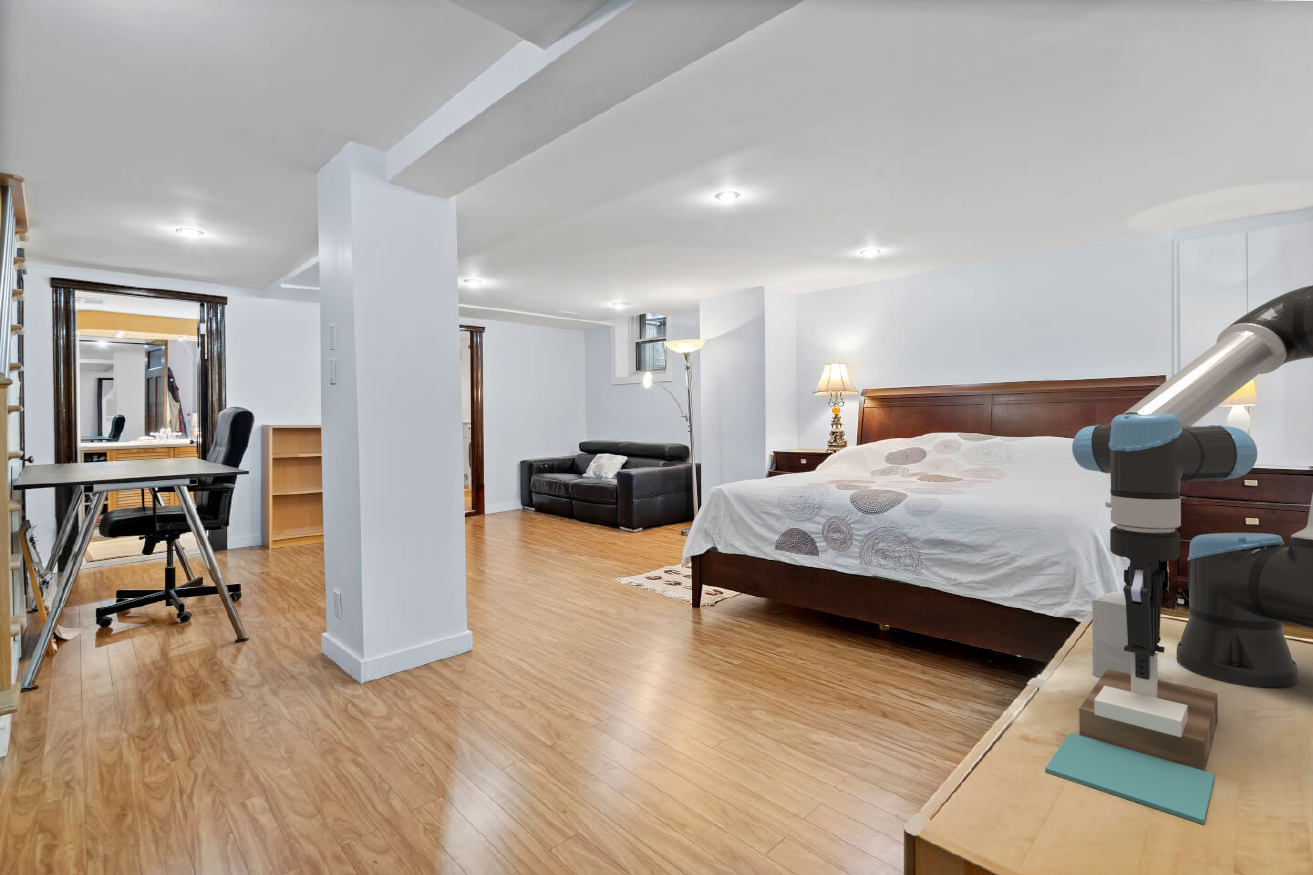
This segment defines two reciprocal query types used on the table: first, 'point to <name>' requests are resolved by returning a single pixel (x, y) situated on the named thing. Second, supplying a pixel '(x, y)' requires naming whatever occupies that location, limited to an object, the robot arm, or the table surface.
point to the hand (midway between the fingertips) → (1144, 699)
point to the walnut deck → (1158, 744)
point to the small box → (1110, 634)
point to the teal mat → (1134, 776)
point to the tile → (1142, 710)
